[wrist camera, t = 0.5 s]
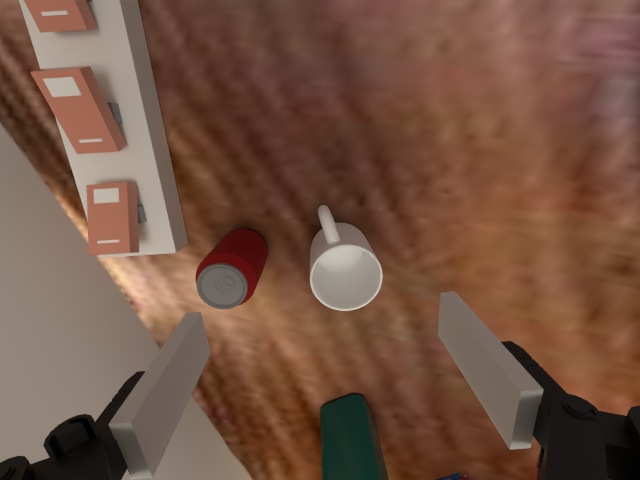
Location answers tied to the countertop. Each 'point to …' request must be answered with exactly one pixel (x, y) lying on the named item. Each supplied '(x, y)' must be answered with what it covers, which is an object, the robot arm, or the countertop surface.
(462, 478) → the juice carton
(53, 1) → the block
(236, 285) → the beverage can
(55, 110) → the rocker
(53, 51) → the power strip
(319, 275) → the mug
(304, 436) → the countertop surface
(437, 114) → the countertop surface
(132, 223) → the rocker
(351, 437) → the green bottle
